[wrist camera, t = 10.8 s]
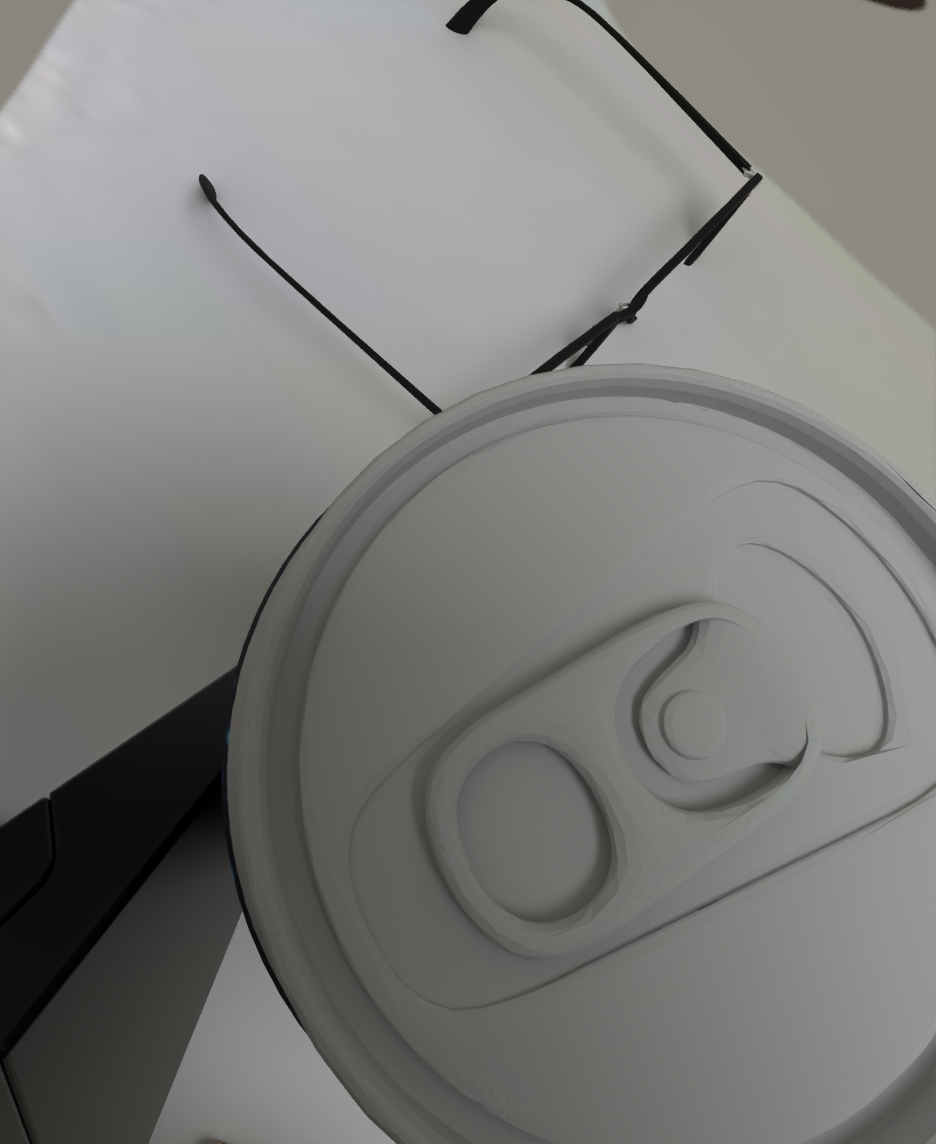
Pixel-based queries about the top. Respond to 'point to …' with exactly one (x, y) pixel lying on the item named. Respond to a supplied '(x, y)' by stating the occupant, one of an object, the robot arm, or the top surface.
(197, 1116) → the top surface
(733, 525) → the beverage can
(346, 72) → the top surface
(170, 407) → the top surface
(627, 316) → the eyeglasses
